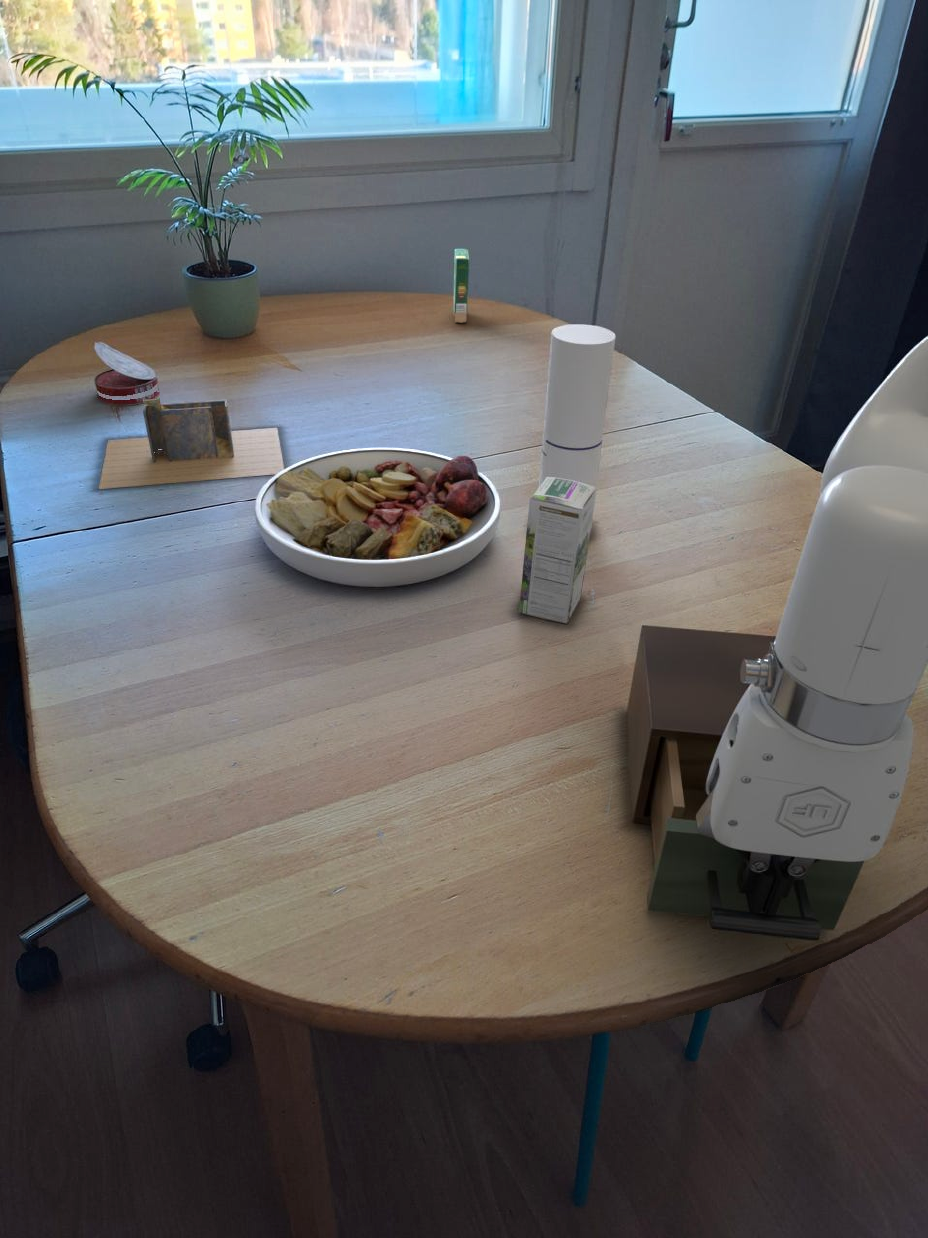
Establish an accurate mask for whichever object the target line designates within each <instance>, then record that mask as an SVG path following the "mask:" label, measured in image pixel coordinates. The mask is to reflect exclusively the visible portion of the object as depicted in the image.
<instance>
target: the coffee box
mask: <svg viewBox="0 0 928 1238" xmlns="http://www.w3.org/2000/svg"><path fill="white" fill-rule="evenodd" d="M469 256H470V255H469V250H468V249H467V248H454V257H453V258H454V264H453V266H454V267H453V269H454V270H453V271H454V272H453V313H454V312H455V313H467V314H468V303H469V301H468V299H469V274H470V273H469V272H470V257H469Z"/></svg>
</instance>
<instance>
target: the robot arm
mask: <svg viewBox="0 0 928 1238" xmlns="http://www.w3.org/2000/svg"><path fill="white" fill-rule="evenodd" d="M820 481H821V482H820V495H819V498H818V501H817V503H816V506H815V508H814V511H813V515H812V518H811V521H810V525H809V527H808V531H807V534H806V536H805V537H806V538H805V541H804V543H803V546H802V547H803V548H802V550H801V553H800V554H801V555H800V557H799V561H798V563H797V566H796V571H795V573H794V576H793V580H792V583H791V587H790V590H789V593H788V596H787V600H786V603H785V606H784V609H783V613H782V616H781V619H780V622H779V626H778V628H777V632H776V635H775V636H776V639H775V642H771V643H770V646H769V649H768V652H767V654H766V655H765V656H764V657H763V659H758V658H757V659H756V661H754V660H743V661H742V664H741V669H740V679H741V682H742V683H749V684H751V685H750V686H749V687H748V689H747V690H746V692H745V693H744V695H743V697H742V698H741V700H740V702H739V703H738V705H737V707H736V708H735V710H734V712H733V714H732V716H731V718H730V720H729V722H728V724H727V726H726V728H725V731H724V733H723V735H722V738H721V740H720V743H719V745H718V748H717V750H716V753H715V755H714V758H713V761H712V764H711V767H710V770H709V773H708V777H707V782H706V792H707V794H708V795H709V796H708V798H707V799H706V801H705V802H704V804H703V805H702V807H701V808H700V810H699V811H698V813H697V814H696V822H697V829H698V833H699V834H701V835H703V836H706V837H710V838H713V839H716V840H717V841H718V842H720V843H721V844H723V845H725V846H728V847H731V848H734V849H736V850H737V851H738V852H739V853H740V854H741V855H742V856H743V859H742V862H741V865H740V868H739V871H738V876H737V883H738V889H739V892H740V893H744V894H746V898H747V903H748V908H749V912H750V913H753V914H759V912H762V911H763V913H765V914H766V915H770V916H775V914H776V912H777V909H778V907H779V904H780V902H781V899H782V898H787V896H788V894H789V891H790V889H791V886H792V884H793V881H794V879H795V877H800V876H803V875H805V874H806V873H807V871H808V870H809V868H810V867H811V865H812V864H813V863H815V862H818V861H820V860H822V859H824V860H834V861H847V862H856V861H864V860H865V861H868V860H871V859H873V858H874V857H876V856H877V855H878V854H879V853H880V851H881V850H882V848H883V847H884V845H885V843H886V842H887V839H888V836H889V834H890V832H891V829H892V826H893V824H894V822H895V818H896V815H897V812H898V809H899V807H900V806H899V805H900V803H901V800H902V797H903V793H904V791H905V786H906V782H907V776H908V774H909V773H908V772H909V769H910V763H911V758H912V752H913V748H914V740H915V725H914V723H913V721H912V719H911V717H909V715H908V713H907V711H908V709H909V707H910V705H911V703H912V700H913V697H914V695H915V693H916V692H917V689H918V686H919V684H920V682H921V680H922V679H923V675H924V674H925V671H926V669H927V666H928V335H927V336H925V337H924V338H923V339H922V340H921V341H920V342H918V343H917V344H916V345H915V346H913V348H912V349H910V350H909V351H908V353H907V354H905V355H904V357H903V358H902V359H901V360H900V361H899V362H898V363H897V364H896V365H895V367H894V368H893V369H892V370H891V371H890V373H889V374H888V375H887V376H886V377H885V379H884V380H883V381H882V383H880V384H879V386H878V387H877V388H876V389H875V391H874V392H873V393H872V394H871V395H870V396H869V398H868V399H867V400H866V401H865V402H864V404H863V405H862V407H861V408H860V409H859V410H858V411H857V413H856V414H855V415H854V417H852V420H851V421H850V422H849V424H848V425H847V426H846V428H845V429H844V430H843V432H842V434H841V435H840V436H839V437H838V439H837V442H836V443H835V445H834V446H833V448H832V450H831V451H830V453H829V456H828V458H827V460H826V462H825V466H824V468H823V472H822V476H821V480H820ZM865 861H864V862H865Z"/></svg>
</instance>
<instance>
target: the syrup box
mask: <svg viewBox="0 0 928 1238" xmlns="http://www.w3.org/2000/svg"><path fill="white" fill-rule="evenodd" d="M597 491H598V489H597V487H596V488H595V487H593V486H590V485H587V484H584V483H581V482H577V481H573V480H568V479H562V478H555V477H546V479H545V480H544V481H543V483H542V484H541V486H540V487H539V486H538V488H537V490H536V491H535V492H534V494H533V495H532V496H531V497H530V499H529V503H528V513H527V524H526V533H525V544H524V554H523V566H522V574H521V583H520V585H521V587H520V597H519V606H518V612H519V614H523V615H528V616H532V617H535V618H540V619H545V620H549V621H552V622H558V623H562V624H566V625H567V624H569V622H570V620H571V618H572V616H573V614H574V612H575V610H576V608H577V606H578V604H579V602H580V601H581V598H582V596H583V595H582V594H583V587H584V580H585V573H586V566H587V559H588V553H589V545H590V540H591V539H590V538H591V533H592V528H591V525H592V526H593V519H592V517H593V518H594V511H593V510H595V503H596V495H597V494H596V493H597ZM590 532H591V533H590Z"/></svg>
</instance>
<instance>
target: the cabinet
mask: <svg viewBox="0 0 928 1238" xmlns="http://www.w3.org/2000/svg"><path fill="white" fill-rule="evenodd" d="M640 629H641V630H640V634H639V640H638V646H637V650H636V656H635V662H634V667H633V673H632V680H631V685H630V690H629V696H628V701H627V702H628V703H627V708H626V716H625V717H626V731H627V733H626V734H627V749H628V750H627V751H628V766H629V767H628V768H629V785H630V786H629V787H630V802H631V818H632V823H634V824H644V825H651V814H650V802H649V788H650V784H651V779H652V774H653V769H654V765H655V760H656V755H657V750H658V746H659V741H660V737H669V738H680V739H691V740H701V741H712V742H720V740H721V738H722V735H723V733H724V731H725V728H726V726H727V724H728V722H729V720H730V718H731V716H732V714H733V712H734V710H735V708H736V707H737V705H738V703H739V702H740V700H741V698H742V697H743V695H744V693H745V692H746V690H747V689H748V687H749V686H750V685H751V684H749V683H742V682H741V679H740V669H741V664H742V661H743V660H754V661H756V659H757V658H758V659H763V657H764V656H765V655H766V654H767V652H768V649H769V646H770V643H771V642H775V639H776V635H766V634H753V633H742V632H730V631H719V630H718V631H717V630H708V629H707V630H706V629H693V628H682V627H672V626H659V625H647V624H642V625H641V628H640Z"/></svg>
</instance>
